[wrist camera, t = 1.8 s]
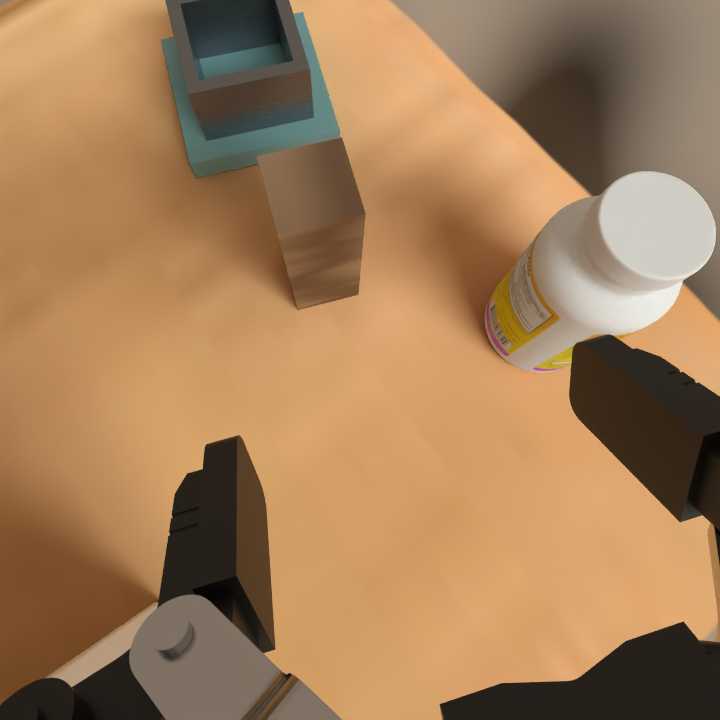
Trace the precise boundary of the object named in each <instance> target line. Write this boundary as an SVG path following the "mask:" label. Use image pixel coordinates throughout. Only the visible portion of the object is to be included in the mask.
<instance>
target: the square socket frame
mask: <svg viewBox="0 0 720 720" xmlns="http://www.w3.org/2000/svg"><path fill="white" fill-rule="evenodd" d="M166 5H167V9H168V13H169V17H170V21H171V26H172V30H173V34H174V38H175V42H176V47H177V51H178V55H179V59H180V63H181V68H182V72H183V76H184V80H185V84H186V89H187V93H188V96H189V98H190V101H191V103H192V106H193V108H194V111H195V113H196V115H197V118H198V120H199V123H200V125H201V128H202V130H203V133H204V135H205V137H206V140H207V141H209V140H214V139H219V138H223V137H228V136H233V135H237V134H242V133H246V132H251V131H256V130H260V129H265V128H270V127H274V126H279V125H284V124H288V123H293V122H297V121H302V120H307V119H311V118H314V110H313V98H312V86H311V73H310V67H309V64H308V61H307V57H306V54H305V51H304V47H303V44H302V41H301V38H300V34H299V31H298V28H297V25H296V21H295V18H294V15H293V12H292V8H291V5H290V2H289V0H166ZM278 43H280V46H281V49H282V53H283V56H284V60H285V63H280V64H276V65H271V66H266V67H261V68H256V69H251V70H246V71H241V72H236V73H231V74H226V75H221V76H217V77H212V78H207V79H204V76H203V72H202V68H201V64H200V60H199V59H203V58H208V57H213V56H218V55H223V54H228V53H233V52H238V51H243V50H248V49H253V48H258V47H263V46H268V45H273V44H278Z"/></svg>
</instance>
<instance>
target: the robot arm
mask: <svg viewBox="0 0 720 720" xmlns="http://www.w3.org/2000/svg"><path fill="white" fill-rule="evenodd" d="M569 397H570V403H571V406H572V409H573V411H574V413H575V415H576V416H577V417H578V419H579V420H580V421H581V422H582V423H583V424H584V425H585V426H586V427H587V428H588V429H589V430H590V431H591V432H592V433H593V434H594V435H595V436H596V437H597V438H598V439H599V440H600V441H601V442H602V443H603V444H604V445H605V446H606V447H607V448H608V449H609V450H610V451H611V452H612V453H613V455H614V456H615V457H616V458H617V459H618V460H619V461H620V462H621V463H622V464H623V465H624V466H625V467H626V468H627V469H628V470H629V471H630V472H631V473H632V474H633V475H634V476H635V477H636V478H637V479H638V480H639V481H640V482H641V483H642V484H643V485H644V486H645V487H646V488H647V489H648V490H649V491H650V492H651V493H652V494H653V495H654V496H655V497H656V498H657V499H658V500H659V501H660V502H661V503H662V504H663V505H664V506H665V507H666V508H667V509H668V510H669V511H670V513H671V514H672V515H673V516H674V517H675V518H676V519H677V520H678V521H679V522H682V521H685V520H689V519H692V518H695V517H698V516H701V515H703V516H704V517H705V518H706V519H707V520H709V521H710V525H709V528H708V541H709V549H710V556H711V564H712V572H713V580H714V587H715V595H716V603H717V611H718V627H717V635H716V642H712V641H701V640H700V641H699V640H698V639H697V638H696V636H695V635H694V634H693V633H692V632H691V630H690V629H689V628H688V627H687V625H686V624H685V623H684V622H681V623H678V624H675V625H672V626H669V627H666V628H663V629H660V630H657V631H654V632H651V633H649V634H646V635H643V636H640V637H637V638H634V639H631V640H628V641H625V642H624V643H623V644H622V645H620V646H619V647H618V648H616V649H615V650H614V651H613V652H611V653H610V654H609V655H608V656H606V657H605V658H604V659H602V660H601V661H600V662H599V663H597V664H596V665H595V666H593V667H592V668H591V669H590V670H588V671H587V672H586V673H585V674H583V675H582V676H581V677H579V678H577V679H575V680H572V681H559V682H527V683H501V684H498V685H495V686H492V687H489V688H486V689H483V690H481V691H478V692H475V693H472V694H469V695H466V696H463V697H460V698H457V699H454V700H451V701H448V702H445V703H442V704H440V709H441V714H442V719H443V720H720V397H719V396H718V395H716V394H715V393H714V392H712V391H711V390H709V389H708V388H706V387H705V386H703V385H702V384H700V383H695V380H694V379H693V378H691V377H690V376H688V375H687V374H685V373H684V372H681V373H680V371H679V369H678V368H676V367H675V366H673V365H672V364H670V363H669V362H667V361H666V360H664V359H663V358H661V357H659V356H657V355H654V354H651V353H648V352H645V351H643V350H640V349H637V348H635V349H632V348H630V347H629V346H627V345H626V344H625V343H623V342H622V341H620V340H619V339H617V338H616V337H615V336H613V335H610V334H606V335H602V336H599V337H595V338H591V339H588V340H584V341H581V342H577V343H576V344H575V345H574V347H573V351H572V363H571V377H570V391H569ZM172 517H173V518H172V519H171V523H170V530H169V532H170V536H168V543H167V549H166V556H165V562H164V569H163V576H162V582H161V589H160V595H159V602H158V606H157V609H156V610H154V611H153V612H152V613H151V614H150V615H149V616H148V617H147V618H146V620H145V621H144V622H143V623H142V625H141V626H140V628H139V629H138V631H137V633H136V635H135V637H134V639H133V642H132V645H131V648H130V649H129V650H127V651H126V652H125V653H124V654H123V655H121V656H120V657H118V658H117V659H115V660H114V661H112V662H111V663H109V664H108V665H106V666H104V667H103V668H101V669H100V670H98V671H97V672H95V673H93V674H92V675H90V676H89V677H87V678H85V679H84V680H82V681H81V682H79V683H78V684H76V685H74V686H73V687H71V686H70V685H69V684H68V683H67V682H65V681H64V680H62V679H59V678H44V679H41V680H37V681H35V682H33V683H30V684H28V685H26V686H25V687H23V688H21V689H20V690H18V691H17V692H16V693H14V694H13V695H11V696H10V697H9V698H8V699H7V700H6V701H5V702H3V703H2V704H1V705H0V720H342V719H341V718H340V717H339V716H338V715H337V714H335V713H334V712H333V711H332V710H331V709H330V708H329V707H328V706H327V705H326V704H325V703H324V702H323V701H322V700H321V699H320V698H319V697H318V696H317V695H316V694H315V693H314V692H313V691H312V690H310V689H309V688H308V687H307V686H306V685H305V684H304V683H303V682H302V681H301V680H299V679H298V678H297V677H296V676H294V675H293V674H290V673H288V675H286V674H285V673H283V672H282V671H281V670H280V669H278V668H277V667H276V666H275V665H274V664H273V663H272V662H271V661H270V660H269V659H268V658H267V657H266V656H265V655H264V654H263V653H265V652H268V651H272V650H275V637H274V621H273V606H272V590H271V574H270V558H269V542H268V527H267V511H266V503H265V497H264V493H263V489H262V486H261V483H260V481H259V478H258V476H257V473H256V471H255V468H254V466H253V463H252V461H251V459H250V456H249V454H248V451H247V449H246V446H245V444H244V442H243V440H242V438H241V436H239V435H238V436H234V437H231V438H227V439H224V440H220V441H216V442H213V443H209V444H206V446H205V451H204V462H203V469H202V470H198V471H195V472H191V473H188V474H187V475H186V476H185V478H184V480H183V481H182V483H181V485H180V486H179V488H178V490H177V491H176V493H175V497H174V503H173V510H172Z"/></svg>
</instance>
